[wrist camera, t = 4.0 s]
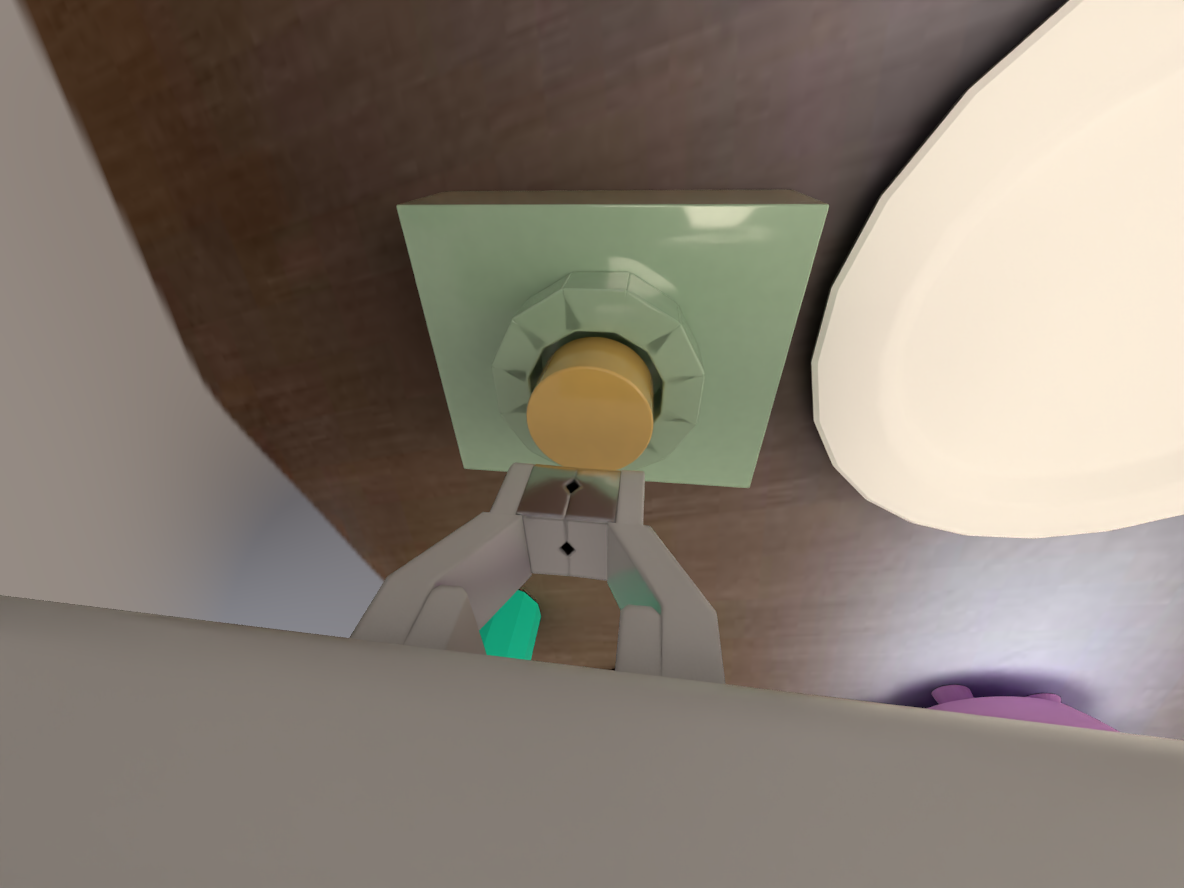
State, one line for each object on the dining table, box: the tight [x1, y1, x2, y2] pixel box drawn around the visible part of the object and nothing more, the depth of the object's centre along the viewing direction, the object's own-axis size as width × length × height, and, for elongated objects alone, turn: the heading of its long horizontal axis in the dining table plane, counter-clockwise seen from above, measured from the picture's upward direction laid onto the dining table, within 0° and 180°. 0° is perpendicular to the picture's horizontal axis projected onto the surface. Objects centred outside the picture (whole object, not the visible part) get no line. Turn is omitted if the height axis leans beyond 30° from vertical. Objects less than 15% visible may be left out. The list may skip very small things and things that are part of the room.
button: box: [526, 337, 654, 470], centre depth 12 cm, size 4×4×2 cm
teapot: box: [926, 685, 1119, 732], centre depth 27 cm, size 20×14×12 cm
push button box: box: [397, 189, 829, 488], centre depth 15 cm, size 12×10×6 cm
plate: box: [810, 0, 1184, 538], centre depth 14 cm, size 21×21×2 cm
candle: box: [479, 590, 541, 660], centre depth 26 cm, size 6×6×12 cm
